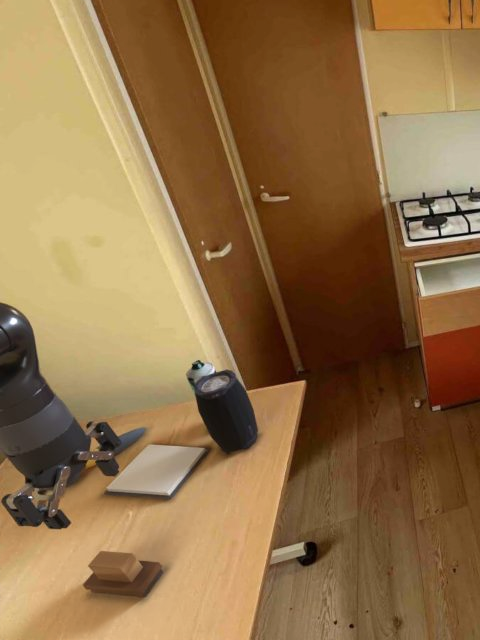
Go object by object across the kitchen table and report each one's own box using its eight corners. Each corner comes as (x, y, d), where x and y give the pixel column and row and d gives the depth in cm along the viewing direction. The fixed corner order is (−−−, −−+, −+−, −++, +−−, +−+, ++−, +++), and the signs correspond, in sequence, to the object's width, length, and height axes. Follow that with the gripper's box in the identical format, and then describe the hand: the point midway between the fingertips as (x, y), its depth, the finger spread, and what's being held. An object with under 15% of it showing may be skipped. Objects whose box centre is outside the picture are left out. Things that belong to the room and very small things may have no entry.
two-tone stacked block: (145, 599, 74) (127, 576, 70) (90, 594, 74) (69, 571, 71) (165, 570, 77) (149, 548, 74) (112, 566, 78) (94, 543, 75)
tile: (104, 494, 90) (101, 490, 90) (150, 446, 101) (148, 442, 100) (170, 499, 89) (167, 495, 89) (210, 450, 100) (208, 446, 99)
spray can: (230, 429, 105) (203, 369, 96) (206, 432, 104) (176, 371, 95) (239, 412, 110) (214, 353, 101) (216, 415, 109) (189, 355, 100)
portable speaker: (211, 447, 101) (181, 386, 92) (250, 420, 108) (226, 361, 99) (230, 464, 97) (201, 402, 88) (269, 435, 104) (246, 375, 95)
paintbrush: (138, 426, 106) (130, 412, 104) (151, 433, 104) (143, 418, 102) (36, 497, 90) (23, 482, 87) (49, 506, 88) (36, 491, 86)
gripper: (61, 392, 67) (106, 459, 75) (-48, 474, 55) (20, 544, 62) (106, 393, 67) (147, 460, 74) (7, 476, 54) (68, 547, 62)
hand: (89, 498), depth 68 cm, fingers open, 8 cm apart
